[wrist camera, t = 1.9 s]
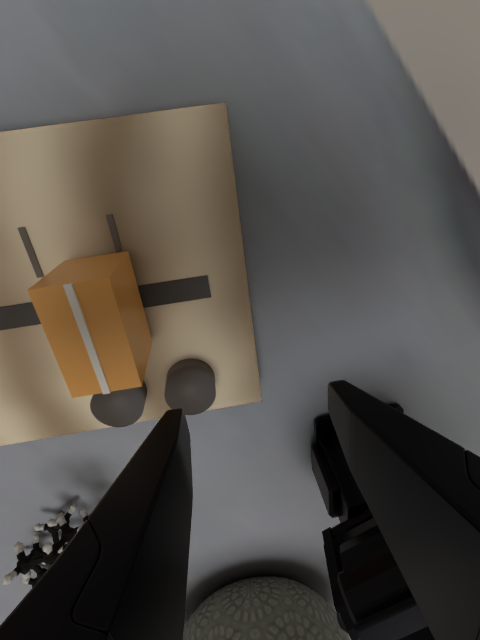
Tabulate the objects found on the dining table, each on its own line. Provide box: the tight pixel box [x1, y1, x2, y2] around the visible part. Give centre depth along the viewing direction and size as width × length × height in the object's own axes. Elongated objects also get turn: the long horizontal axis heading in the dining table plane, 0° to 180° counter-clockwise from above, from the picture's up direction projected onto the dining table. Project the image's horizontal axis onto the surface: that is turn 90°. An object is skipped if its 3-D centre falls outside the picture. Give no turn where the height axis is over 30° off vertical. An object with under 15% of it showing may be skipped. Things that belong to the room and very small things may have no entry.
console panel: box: [0, 102, 262, 446], centre depth 18 cm, size 24×16×4 cm, turn 97°
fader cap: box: [27, 251, 153, 398], centre depth 16 cm, size 3×5×4 cm, turn 7°
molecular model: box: [3, 504, 89, 587], centre depth 24 cm, size 6×15×8 cm, turn 156°
